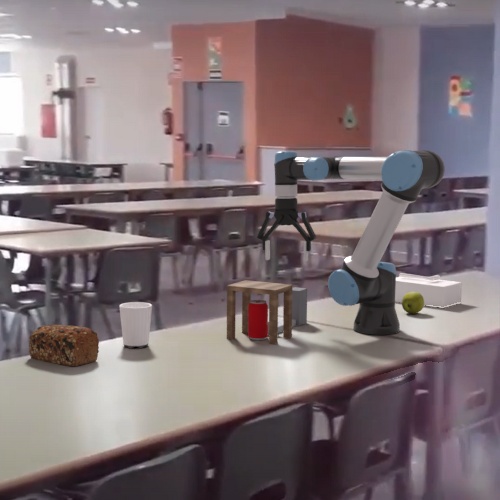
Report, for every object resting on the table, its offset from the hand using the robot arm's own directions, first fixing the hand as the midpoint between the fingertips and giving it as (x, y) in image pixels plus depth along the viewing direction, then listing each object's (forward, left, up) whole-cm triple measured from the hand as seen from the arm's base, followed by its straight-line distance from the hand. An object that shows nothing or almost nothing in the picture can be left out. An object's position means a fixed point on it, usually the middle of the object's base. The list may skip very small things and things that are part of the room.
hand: (286, 260), depth 312 cm
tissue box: (-28, -64, -22) cm, 73 cm away
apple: (-32, -40, -22) cm, 55 cm away
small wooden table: (-3, +24, -22) cm, 33 cm away
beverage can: (-3, +25, -22) cm, 34 cm away
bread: (+32, +77, -22) cm, 87 cm away
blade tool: (-3, +7, -22) cm, 23 cm away
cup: (+24, +53, -22) cm, 63 cm away
